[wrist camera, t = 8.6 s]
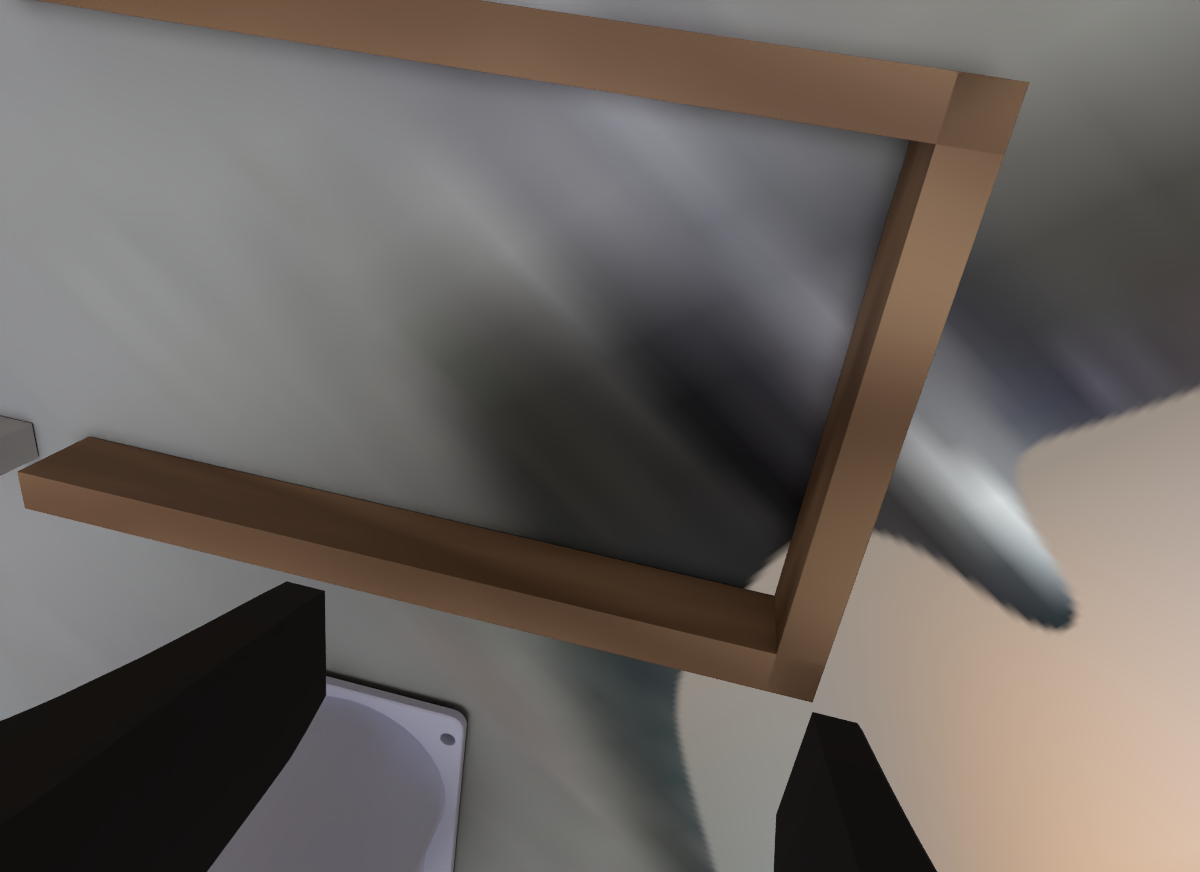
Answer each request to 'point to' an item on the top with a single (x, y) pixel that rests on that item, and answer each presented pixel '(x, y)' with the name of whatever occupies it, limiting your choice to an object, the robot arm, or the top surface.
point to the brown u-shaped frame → (554, 573)
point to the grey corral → (16, 444)
